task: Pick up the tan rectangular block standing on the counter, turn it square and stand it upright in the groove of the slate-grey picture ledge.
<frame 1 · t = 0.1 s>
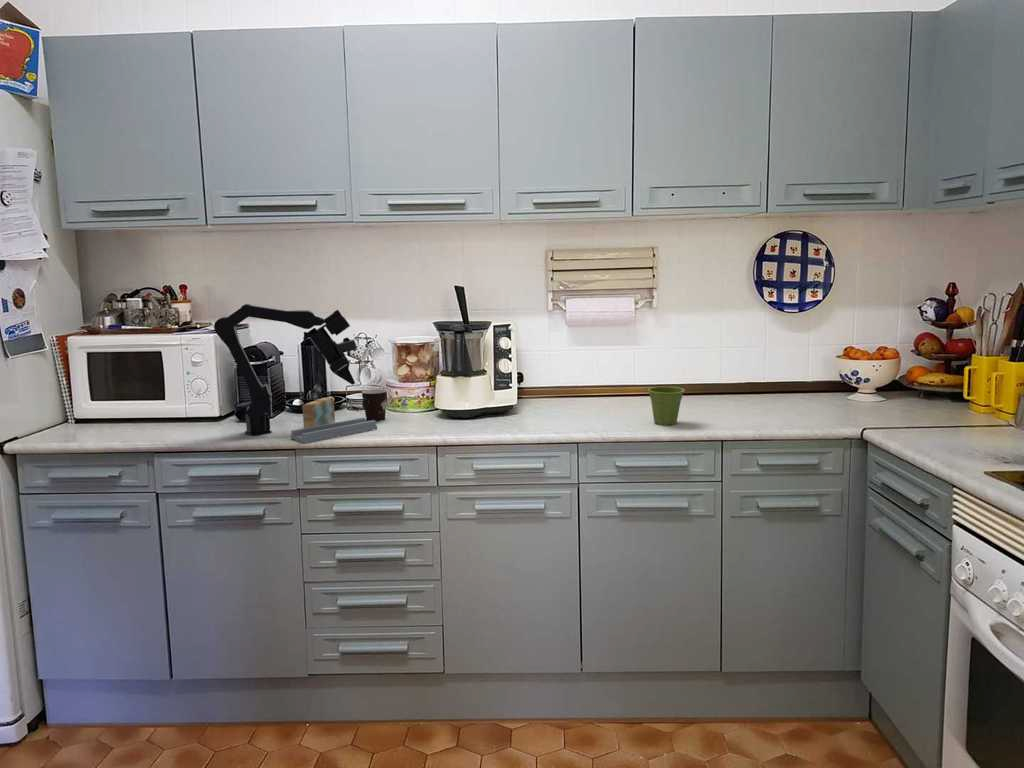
hand: (352, 381, 257), 15 cm above the worktop, tool tilted 30°, fingers open, 9 cm apart
plant pot: (665, 423, 253), on the worktop
coffee mug: (372, 421, 268), on the worktop
tan rectangular block: (319, 427, 258), on the worktop
picture ledge: (335, 434, 248), on the worktop
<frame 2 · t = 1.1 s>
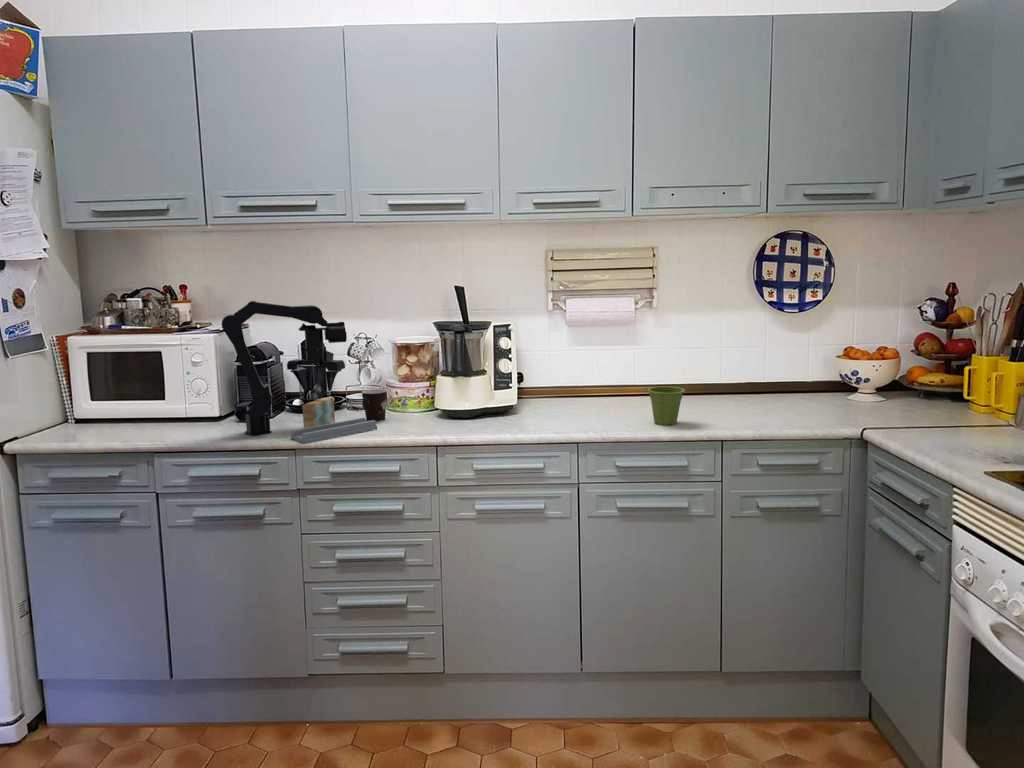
hand: (317, 390, 256), 12 cm above the worktop, tool pointing down, fingers open, 9 cm apart
nothing on the worktop moved.
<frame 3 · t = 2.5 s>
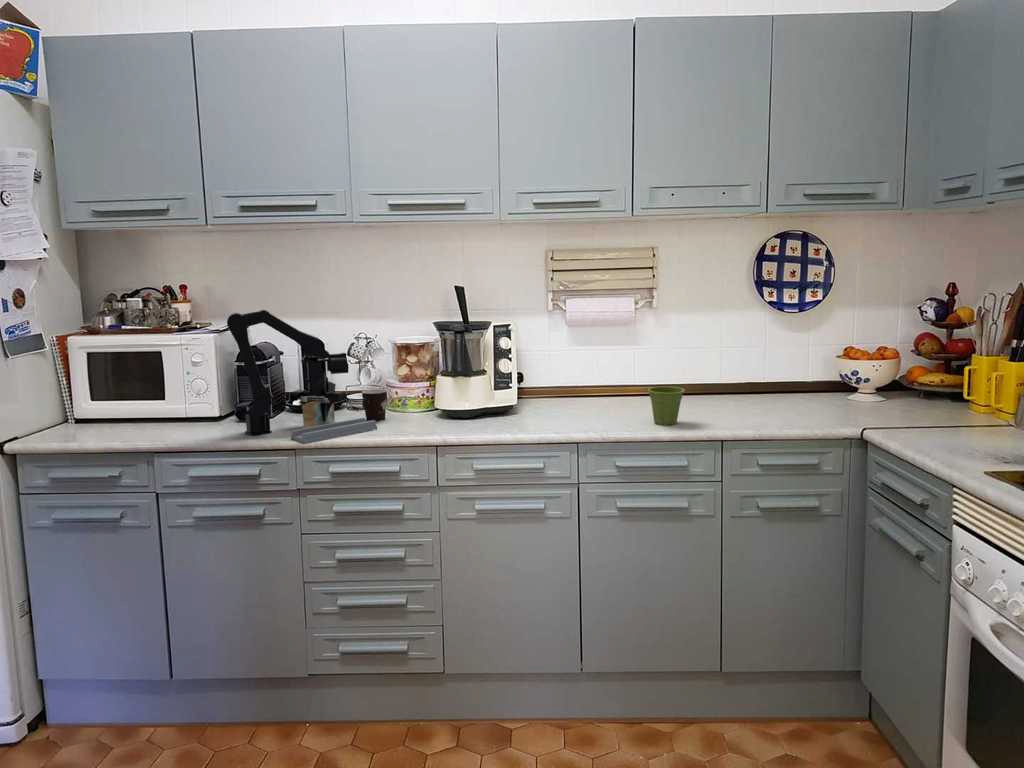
hand: (319, 421, 258), 2 cm above the worktop, tool pointing down, fingers closed on tan rectangular block, 4 cm apart
tan rectangular block: (319, 427, 258), on the worktop, touching gripper
everything else where it was.
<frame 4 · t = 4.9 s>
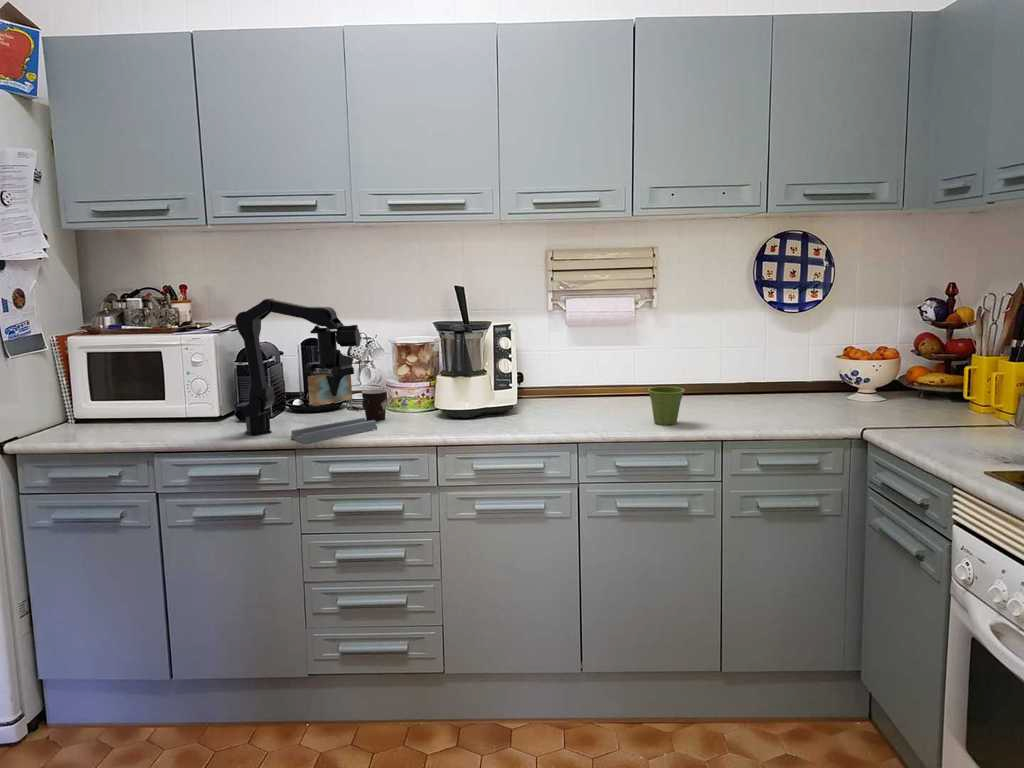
hand: (330, 395, 248), 12 cm above the worktop, tool pointing down, fingers closed on tan rectangular block, 4 cm apart
tan rectangular block: (331, 401, 248), point 10 cm above the worktop, touching gripper
everything else where it was.
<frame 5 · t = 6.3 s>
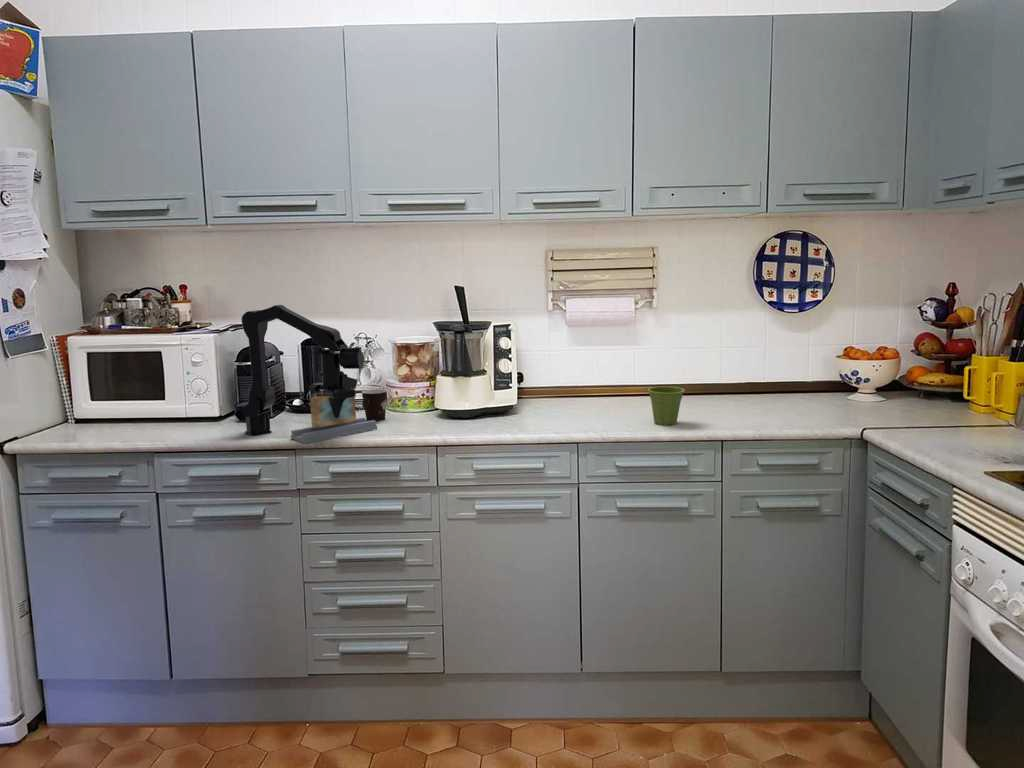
hand: (333, 417, 247), 6 cm above the worktop, tool pointing down, fingers closed on tan rectangular block, 4 cm apart
tan rectangular block: (334, 423, 247), point 4 cm above the worktop, touching gripper
everything else where it was.
when the fingers open (4 cm above the worktop, at t = 7.2 s): tan rectangular block drops 1 cm, resting on picture ledge.
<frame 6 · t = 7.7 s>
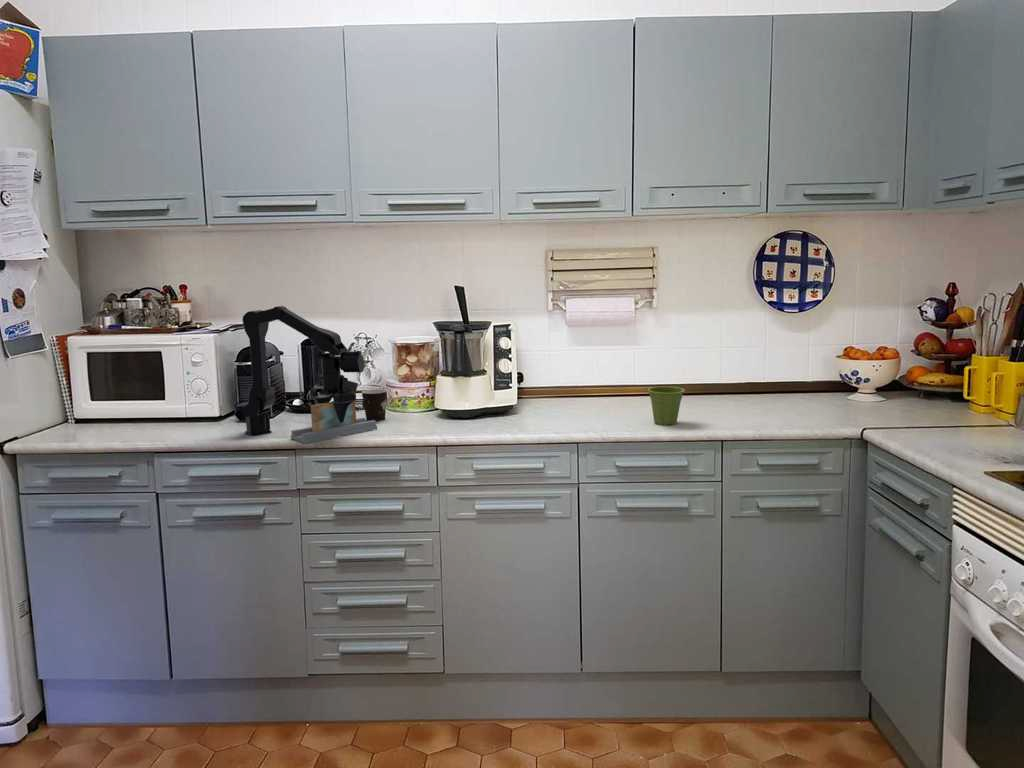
hand: (334, 420, 247), 4 cm above the worktop, tool pointing down, fingers open, 9 cm apart
tan rectangular block: (334, 430, 248), point 1 cm above the worktop, touching picture ledge
everything else where it was.
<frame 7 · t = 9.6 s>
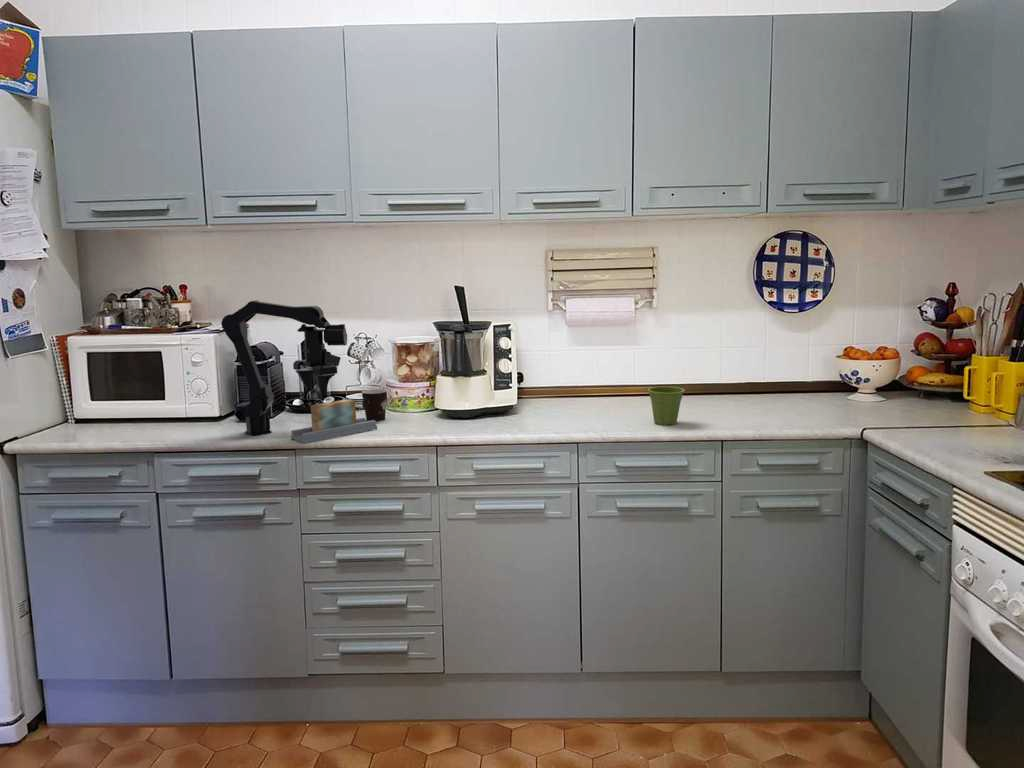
hand: (315, 393, 250), 13 cm above the worktop, tool pointing down, fingers open, 9 cm apart
nothing on the worktop moved.
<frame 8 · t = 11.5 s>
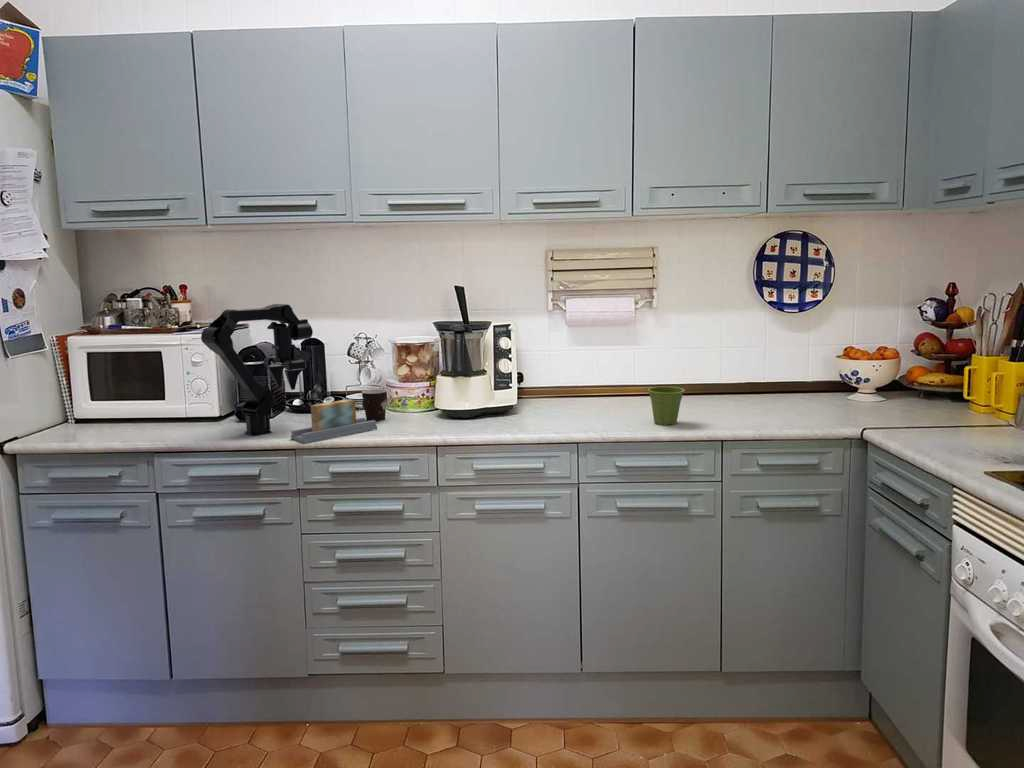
hand: (286, 388, 259), 13 cm above the worktop, tool pointing down, fingers open, 9 cm apart
nothing on the worktop moved.
at the end: tan rectangular block inside the target area on the picture ledge (0.1 cm from its centre), point 1.2 cm above the picture ledge's base; tan rectangular block tilted 0°; the gripper is holding nothing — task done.
